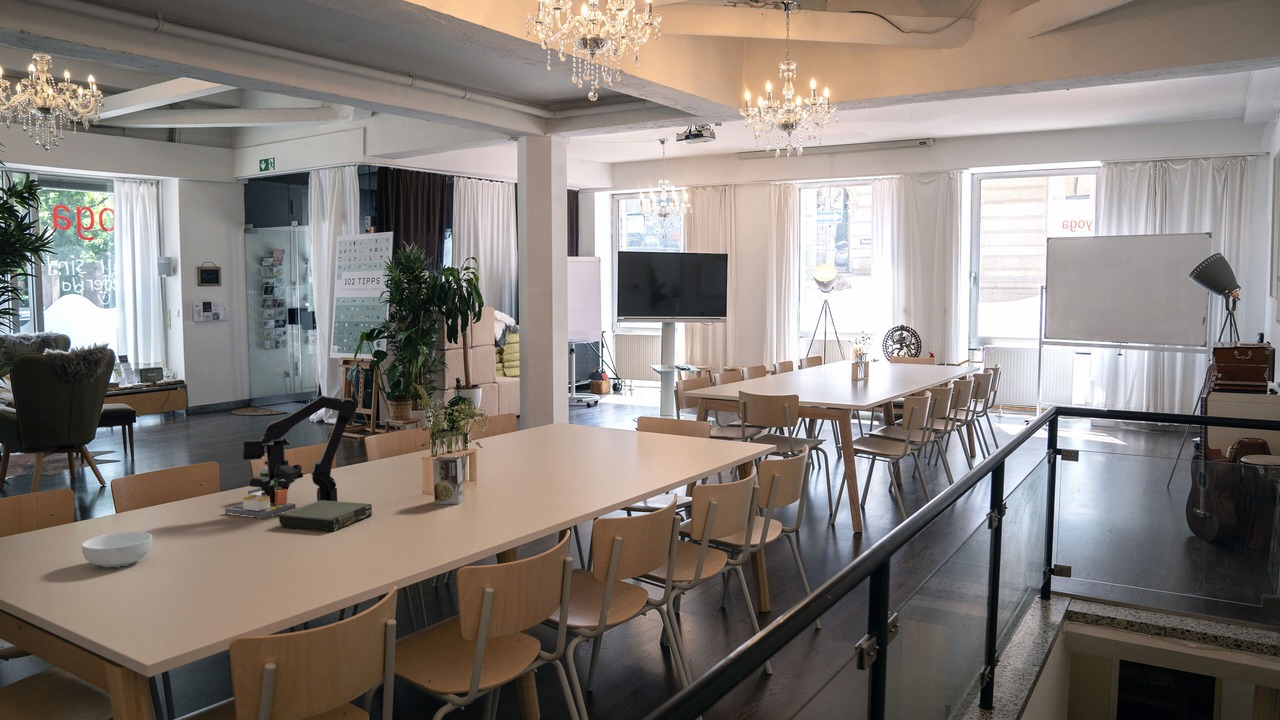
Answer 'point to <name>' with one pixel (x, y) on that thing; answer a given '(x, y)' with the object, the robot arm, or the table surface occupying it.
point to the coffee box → (448, 480)
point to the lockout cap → (280, 496)
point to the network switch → (325, 515)
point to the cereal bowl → (117, 548)
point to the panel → (262, 513)
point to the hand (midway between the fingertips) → (278, 502)
